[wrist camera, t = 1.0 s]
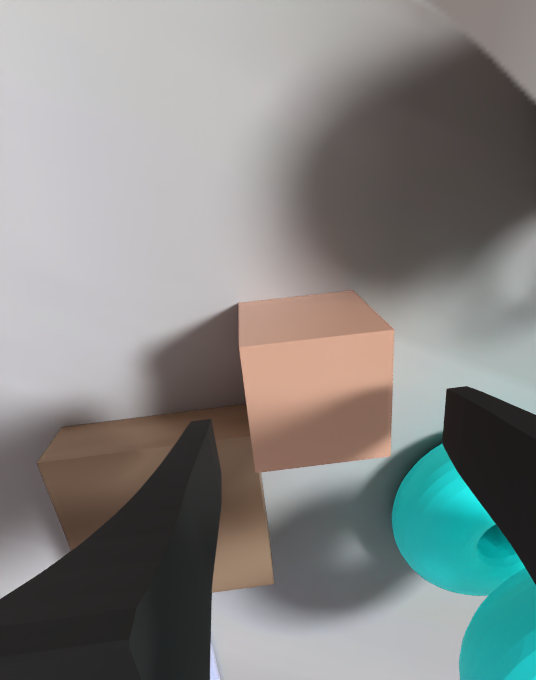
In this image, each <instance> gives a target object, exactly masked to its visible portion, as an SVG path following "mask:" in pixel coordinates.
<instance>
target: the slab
mask: <svg viewBox="0 0 536 680" xmlns="http://www.w3.org/2000/svg"><path fill="white" fill-rule="evenodd" d="M205 419H212V425H213V430H214V435H215V441H216V446H217V452H218V457H219V462H220V468H221V479H222V504H221V513H220V522H219V531H218V539H217V548H216V556H215V564H214V573H213V583H212V592H220V591H227V590H234V589H242V588H249V587H256V586H263V585H271V584H274V578H273V567H272V556H271V545H270V536H269V528H268V521H267V514H266V506H265V499H264V491H263V484H262V476H261V472H259V473H255V466H254V458H253V451H252V443H251V435H250V428H249V420H248V412H247V405H246V404H242V405H234V406H226V407H218V408H210V409H202V410H194V411H186V412H178V413H170V414H162V415H154V416H146V417H138V418H130V419H122V420H115V421H107V422H99V423H91V424H83V425H75V426H67V427H62V428H61V429H60V431H59V432H58V434H57V435H56V436H55V438H54V439H53V441H52V442H51V443H50V445H49V446H48V448H47V449H46V450H45V452H44V453H43V455H42V456H41V457H40V459H39V460H38V462H37V465H38V468H39V470H40V473H41V475H42V478H43V480H44V483H45V485H46V488H47V490H48V493H49V495H50V498H51V501H52V503H53V506H54V508H55V511H56V513H57V516H58V518H59V521H60V523H61V526H62V528H63V531H64V533H65V536H66V538H67V541H68V543H69V546H70V548H71V551H72V550H73V549H74V548H76V547H77V546H78V545H80V544H81V543H82V542H83V541H85V540H86V539H87V538H88V537H89V536H91V535H92V534H93V533H94V532H95V531H96V530H98V529H99V528H100V527H101V526H102V525H103V524H104V523H106V522H107V521H108V520H109V519H110V518H111V517H113V516H114V515H115V514H116V513H117V512H118V511H119V510H120V509H121V508H122V507H123V506H124V505H125V504H126V503H127V502H128V501H129V500H130V499H131V498H132V497H133V496H134V495H135V494H136V493H137V492H138V490H139V489H140V488H141V487H142V486H143V485H144V483H145V482H146V481H147V480H148V479H149V477H150V476H151V475H152V474H153V473H154V471H155V470H156V469H157V468H158V466H159V465H160V464H161V463H162V461H163V460H164V459H165V457H166V456H167V454H168V453H169V452H170V450H171V449H172V448H173V446H174V445H175V443H176V442H177V441H178V439H179V438H180V436H181V435H182V433H183V432H184V430H185V429H186V427H187V426H188V425H189V423H190V422H191V421H197V420H205Z"/></svg>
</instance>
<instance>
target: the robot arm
mask: <svg viewBox="0 0 536 680" xmlns="http://www.w3.org/2000/svg"><path fill="white" fill-rule="evenodd" d="M442 444H443V446H444V448H445V450H446V452H447V454H448V456H449V458H450V460H451V461H452V463H453V465H454V467H455V468H456V470H457V472H458V474H459V475H460V476H461V478H462V479H463V481H464V482H465V483H466V485H467V486H468V487H469V489H470V490H471V491H472V493H473V494H474V496H475V497H476V498H477V500H478V501H479V502H480V504H481V505H482V506H483V508H484V509H485V510H486V512H487V513H488V514H489V516H490V517H491V518H492V520H493V521H494V522H495V524H496V525H497V526H498V528H499V529H500V530H501V532H502V533H503V534H504V536H505V537H506V539H507V540H508V542H509V543H510V544H511V546H512V547H513V549H514V550H515V552H516V553H517V555H518V557H519V558H520V560H521V562H522V563H523V565H524V566H525V568H526V570H527V571H528V573H529V575H530V576H531V578H532V580H533V581H534V583H535V585H536V415H535V414H532V413H530V412H528V411H525V410H523V409H521V408H518V407H516V406H514V405H511V404H509V403H507V402H504V401H502V400H500V399H498V398H495V397H493V396H491V395H488V394H486V393H483V392H481V391H478V390H476V389H473V388H470V387H467V386H465V387H457V388H449V389H447V391H446V404H445V416H444V429H443V442H442ZM221 504H222V479H221V468H220V462H219V457H218V452H217V446H216V441H215V435H214V430H213V425H212V419H205V420H197V421H191V422H190V423H189V425H188V426H187V427H186V429H185V430H184V432H183V433H182V435H181V436H180V438H179V439H178V441H177V442H176V443H175V445H174V446H173V448H172V449H171V450H170V452H169V453H168V454H167V456H166V457H165V459H164V460H163V461H162V463H161V464H160V465H159V466H158V468H157V469H156V470H155V471H154V473H153V474H152V475H151V476H150V477H149V479H148V480H147V481H146V482H145V483H144V485H143V486H142V487H141V488H140V489H139V490H138V492H137V493H136V494H135V495H134V496H133V497H132V498H131V499H130V500H129V501H128V502H127V503H126V504H125V505H124V506H123V507H122V508H121V509H120V510H119V511H118V512H117V513H116V514H115V515H114V516H113V517H111V518H110V519H109V520H108V521H107V522H106V523H104V524H103V525H102V526H101V527H100V528H99V529H98V530H96V531H95V532H94V533H93V534H92V535H91V536H89V537H88V538H87V539H86V540H85V541H83V542H82V543H81V544H80V545H78V546H77V547H76V548H74V549H73V550H72V551H71V552H69V553H68V554H67V555H65V556H64V557H63V558H61V559H60V560H58V561H57V562H56V563H54V564H53V565H51V566H50V567H49V568H47V569H46V570H44V571H43V572H41V573H40V574H39V575H37V576H36V577H34V578H33V579H31V580H29V581H28V582H26V583H25V584H23V585H22V586H20V587H18V588H17V589H15V590H14V591H12V592H11V593H9V594H7V595H6V596H4V597H3V598H1V599H0V680H220V676H219V672H218V668H217V664H216V660H215V656H214V652H213V648H212V644H211V600H212V583H213V573H214V564H215V556H216V548H217V539H218V531H219V522H220V513H221Z"/></svg>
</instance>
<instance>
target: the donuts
mask: <svg viewBox="0 0 536 680" xmlns="http://www.w3.org/2000/svg"><path fill="white" fill-rule="evenodd" d="M392 528H393V535H394V538H395V542H396V544H397V546H398V549H399V551H400V553H401V555H402V556H403V558H404V559H405V560H406V562H407V563H408V564H409V566H410V567H411V568H412V569H413V570H414V571H415V572H416V573H418V574H419V575H420V576H421V577H422V578H424V579H425V580H427V581H428V582H430V583H432V584H434V585H436V586H438V587H440V588H442V589H445V590H448V591H451V592H455V593H460V594H466V595H475V596H486V595H489V596H488V597H487V598H486V599H485V600H484V601H483V603H482V604H481V605H480V607H479V608H478V609H477V611H476V613H475V614H474V616H473V618H472V620H471V622H470V624H469V626H468V628H467V630H466V632H465V635H464V638H463V641H462V646H461V652H460V659H459V672H460V680H536V585H535V583H534V581H533V580H532V578H531V576H530V575H529V573H528V571H527V570H526V568H525V566H524V565H523V563H522V562H521V560H520V558H519V557H518V555H517V553H516V552H515V550H514V549H513V547H512V546H511V544H510V543H509V542H508V540H507V539H506V537H505V536H504V534H503V533H502V532H501V530H500V529H499V528H498V526H497V525H496V524H495V522H494V521H493V520H492V518H491V517H490V516H489V514H488V513H487V512H486V510H485V509H484V508H483V506H482V505H481V504H480V502H479V501H478V500H477V498H476V497H475V496H474V494H473V493H472V491H471V490H470V489H469V487H468V486H467V485H466V483H465V482H464V481H463V479H462V478H461V476H460V475H459V474H458V472H457V470H456V468H455V467H454V465H453V463H452V461H451V460H450V458H449V456H448V454H447V452H446V450H445V448H444V446H443V444H440V445H439V446H437V447H435V448H434V449H432V450H431V451H430V452H428V453H427V454H426V455H425V456H423V457H422V458H421V459H420V460H419V461H418V462H417V463H416V464H415V465H414V466H413V468H412V469H411V470H410V471H409V472H408V474H407V475H406V476H405V478H404V479H403V481H402V483H401V485H400V487H399V489H398V491H397V494H396V497H395V500H394V505H393V510H392Z"/></svg>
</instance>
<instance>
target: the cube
mask: <svg viewBox="0 0 536 680" xmlns="http://www.w3.org/2000/svg"><path fill="white" fill-rule="evenodd" d="M238 304H239V351H240V359H241V367H242V374H243V382H244V390H245V397H246V405H247V412H248V420H249V428H250V435H251V443H252V451H253V458H254V466H255V473H259V472H267V471H275V470H283V469H291V468H299V467H307V466H315V465H324V464H332V463H340V462H348V461H356V460H364V459H372V458H380V457H388V456H391V423H392V389H393V355H394V329H393V328H392V327H391V326H390V325H389V324H388V323H387V322H386V321H385V320H384V319H383V318H381V317H380V316H379V315H378V314H377V313H376V312H375V311H374V310H373V309H372V308H371V307H370V306H369V305H368V304H367V303H366V302H365V301H364V300H363V299H362V298H361V297H359V296H358V295H357V294H356V293H355V292H354V291H353V290H351V291H342V292H333V293H324V294H315V295H305V296H296V297H287V298H278V299H269V300H260V301H251V302H242V303H238Z"/></svg>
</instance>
